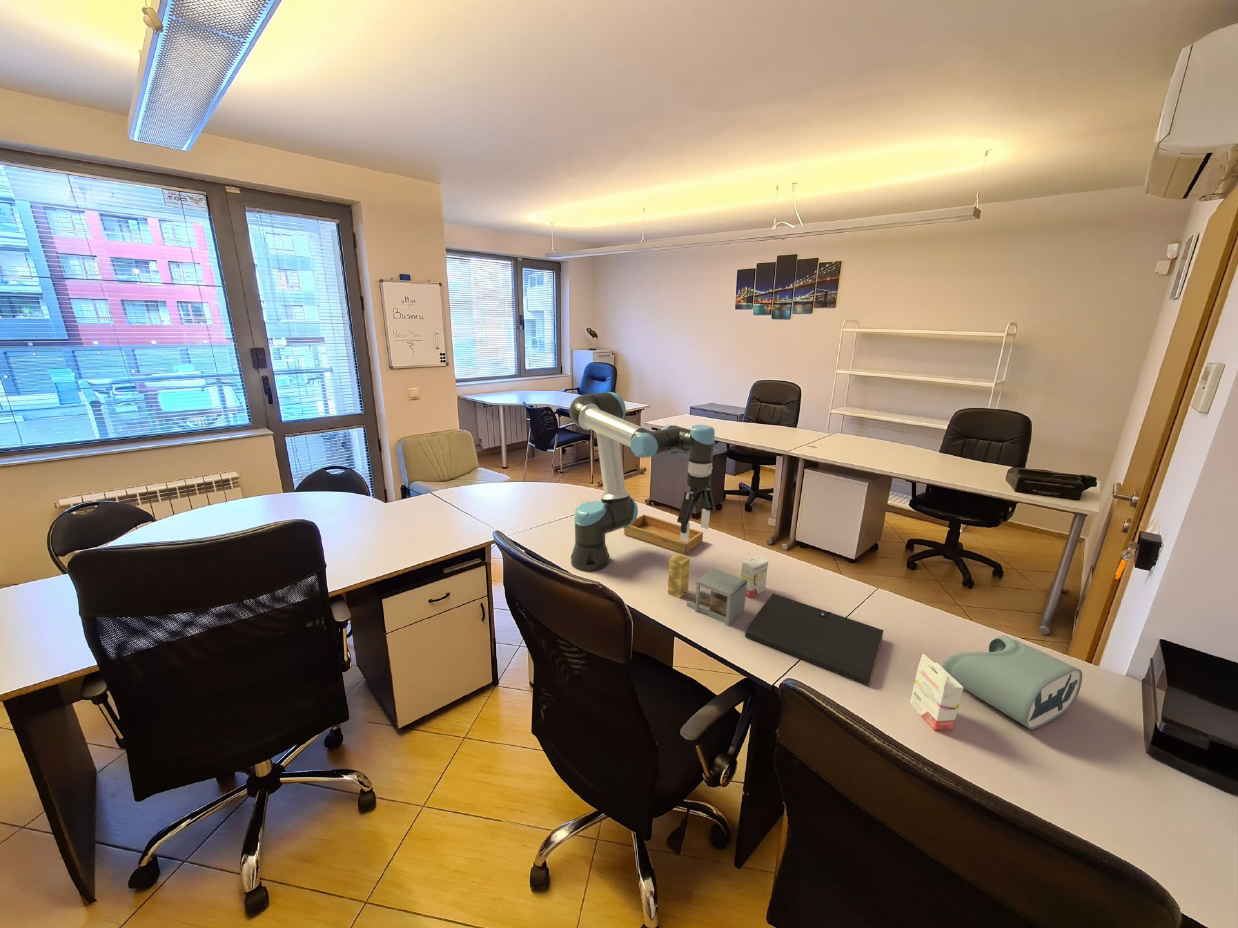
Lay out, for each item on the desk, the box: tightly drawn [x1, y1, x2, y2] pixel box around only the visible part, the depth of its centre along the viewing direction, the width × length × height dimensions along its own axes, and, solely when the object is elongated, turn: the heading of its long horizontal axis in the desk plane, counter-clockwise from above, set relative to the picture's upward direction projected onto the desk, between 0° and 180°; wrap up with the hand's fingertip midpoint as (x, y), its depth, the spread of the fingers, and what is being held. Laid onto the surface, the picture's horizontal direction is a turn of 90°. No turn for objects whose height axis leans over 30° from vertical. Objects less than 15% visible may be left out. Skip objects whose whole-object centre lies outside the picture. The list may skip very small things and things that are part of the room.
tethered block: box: [667, 553, 727, 617], centre depth 153 cm, size 22×6×13 cm, turn 50°
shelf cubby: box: [686, 567, 747, 627], centre depth 150 cm, size 16×11×11 cm
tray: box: [623, 513, 704, 556], centre depth 201 cm, size 31×15×6 cm, turn 53°
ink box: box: [740, 555, 769, 599], centre depth 160 cm, size 9×5×12 cm, turn 126°
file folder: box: [744, 593, 885, 686], centre depth 137 cm, size 33×4×24 cm
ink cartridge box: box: [909, 653, 964, 731], centre depth 109 cm, size 9×5×15 cm, turn 5°
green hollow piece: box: [942, 635, 1083, 730], centre depth 116 cm, size 22×19×13 cm
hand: (694, 534), depth 155 cm, fingers open, 13 cm apart
